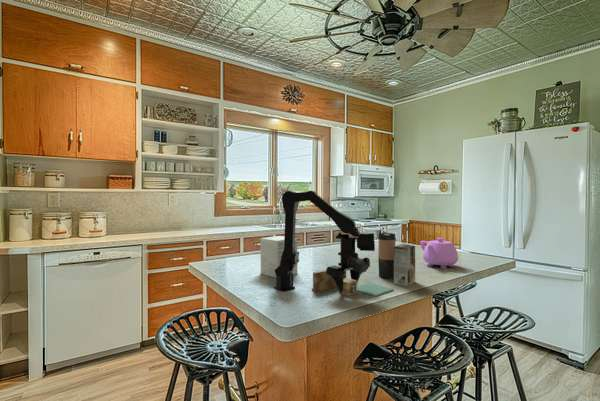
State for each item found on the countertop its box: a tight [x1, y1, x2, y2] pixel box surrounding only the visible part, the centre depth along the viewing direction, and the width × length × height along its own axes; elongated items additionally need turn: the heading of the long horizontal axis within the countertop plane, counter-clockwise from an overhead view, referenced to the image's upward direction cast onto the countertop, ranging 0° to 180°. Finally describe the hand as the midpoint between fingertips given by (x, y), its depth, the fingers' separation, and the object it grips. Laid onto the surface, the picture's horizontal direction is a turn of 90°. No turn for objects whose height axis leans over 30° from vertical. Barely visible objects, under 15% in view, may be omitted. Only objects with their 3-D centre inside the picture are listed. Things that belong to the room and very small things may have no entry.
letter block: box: [338, 277, 358, 296], centre depth 124 cm, size 5×5×5 cm
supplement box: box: [259, 235, 298, 279], centre depth 154 cm, size 13×13×18 cm
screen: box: [311, 268, 347, 293], centre depth 131 cm, size 18×4×8 cm, turn 131°
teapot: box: [419, 237, 459, 270], centre depth 170 cm, size 20×20×15 cm
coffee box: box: [393, 243, 416, 287], centre depth 137 cm, size 9×6×16 cm
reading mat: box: [357, 282, 394, 298], centre depth 127 cm, size 12×12×1 cm
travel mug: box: [377, 232, 396, 280], centre depth 148 cm, size 8×8×20 cm
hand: (347, 290), depth 124 cm, fingers open, 8 cm apart
